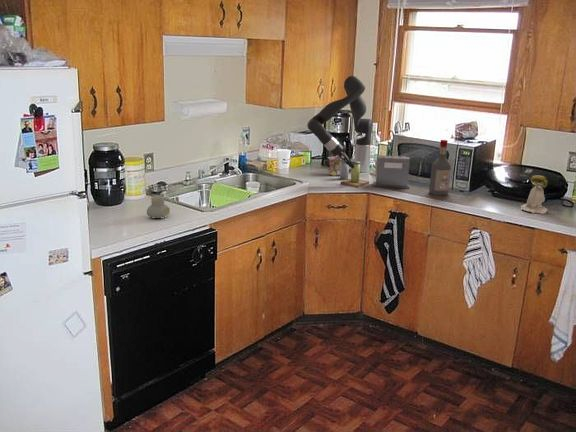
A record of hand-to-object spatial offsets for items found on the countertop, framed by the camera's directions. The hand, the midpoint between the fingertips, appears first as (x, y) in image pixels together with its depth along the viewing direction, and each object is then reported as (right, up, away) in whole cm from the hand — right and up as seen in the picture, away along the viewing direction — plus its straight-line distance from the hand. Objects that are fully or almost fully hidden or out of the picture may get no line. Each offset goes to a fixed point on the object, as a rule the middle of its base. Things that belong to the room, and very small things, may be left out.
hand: (352, 166), depth 347 cm
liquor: (+47, -16, -12) cm, 51 cm away
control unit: (+23, -11, +2) cm, 25 cm away
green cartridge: (+2, -9, +4) cm, 10 cm away
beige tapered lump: (+89, -26, -39) cm, 101 cm away
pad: (+2, -10, +4) cm, 11 cm away
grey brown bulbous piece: (-99, -30, -65) cm, 122 cm away
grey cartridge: (-4, -7, +14) cm, 16 cm away
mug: (-10, -4, +24) cm, 26 cm away
